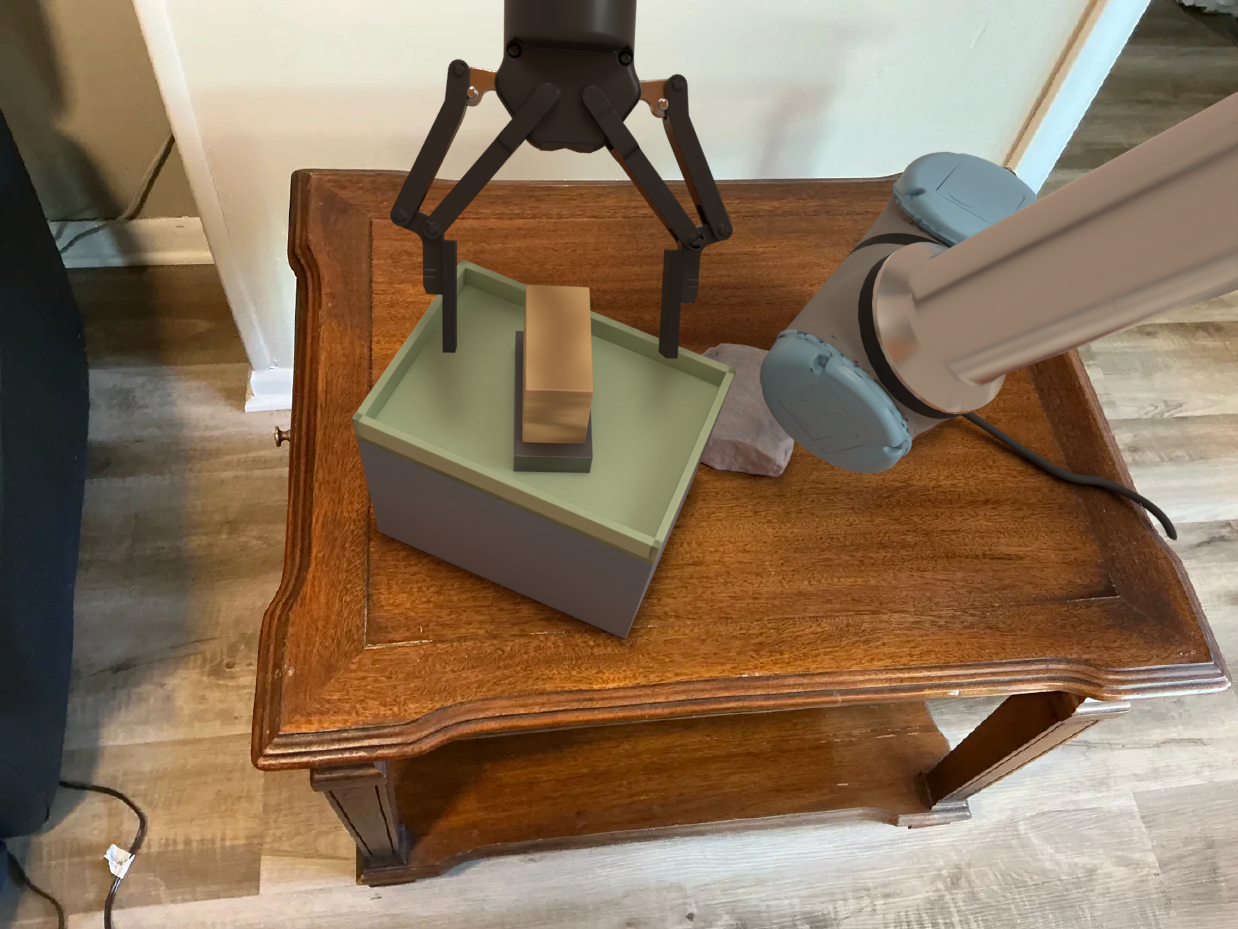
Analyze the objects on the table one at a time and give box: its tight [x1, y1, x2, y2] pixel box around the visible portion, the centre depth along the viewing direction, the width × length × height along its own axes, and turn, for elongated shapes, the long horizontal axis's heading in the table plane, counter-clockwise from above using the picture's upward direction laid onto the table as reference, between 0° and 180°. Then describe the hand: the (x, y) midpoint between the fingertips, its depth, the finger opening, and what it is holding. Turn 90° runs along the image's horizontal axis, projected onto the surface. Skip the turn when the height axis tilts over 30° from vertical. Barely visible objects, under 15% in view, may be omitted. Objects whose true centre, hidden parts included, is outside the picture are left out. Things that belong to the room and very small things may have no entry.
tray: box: [351, 258, 736, 566], centre depth 63 cm, size 21×15×3 cm
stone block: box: [700, 343, 795, 478], centre depth 82 cm, size 12×5×10 cm
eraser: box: [513, 284, 594, 473], centre depth 60 cm, size 5×10×8 cm, turn 3°
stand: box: [356, 395, 727, 640], centre depth 70 cm, size 21×15×14 cm
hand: (560, 353), depth 58 cm, fingers open, 13 cm apart
